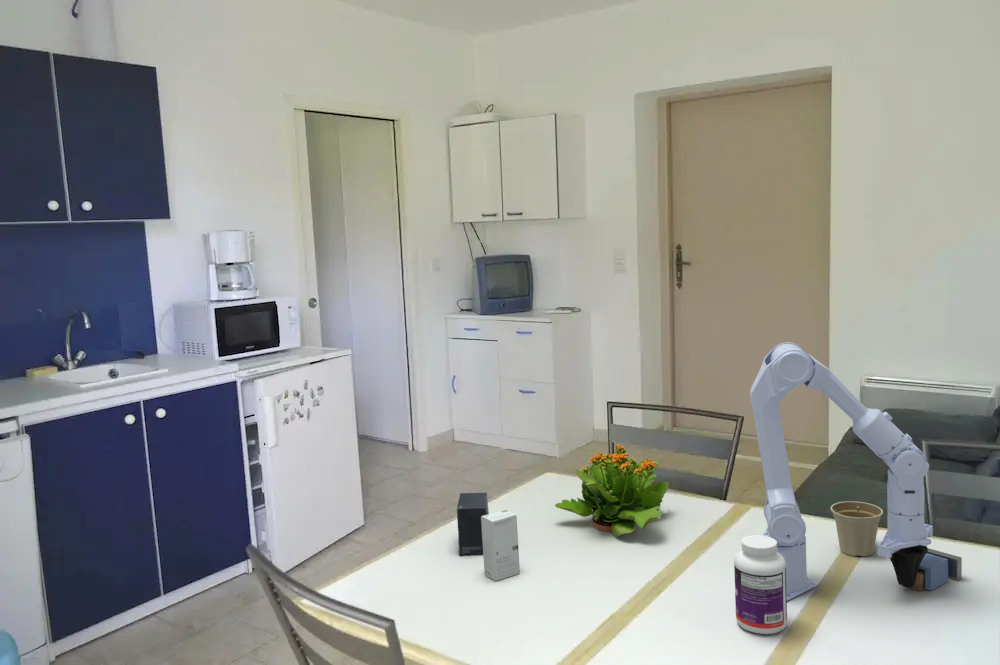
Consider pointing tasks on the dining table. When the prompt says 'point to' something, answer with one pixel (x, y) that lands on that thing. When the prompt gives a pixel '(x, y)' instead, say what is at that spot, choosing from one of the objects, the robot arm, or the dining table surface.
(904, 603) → the dining table surface
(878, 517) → the flower pot
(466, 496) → the small box
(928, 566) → the socket block
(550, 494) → the dining table surface
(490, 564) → the skincare box
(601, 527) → the potted flower
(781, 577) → the pill bottle
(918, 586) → the walnut peg
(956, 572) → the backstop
